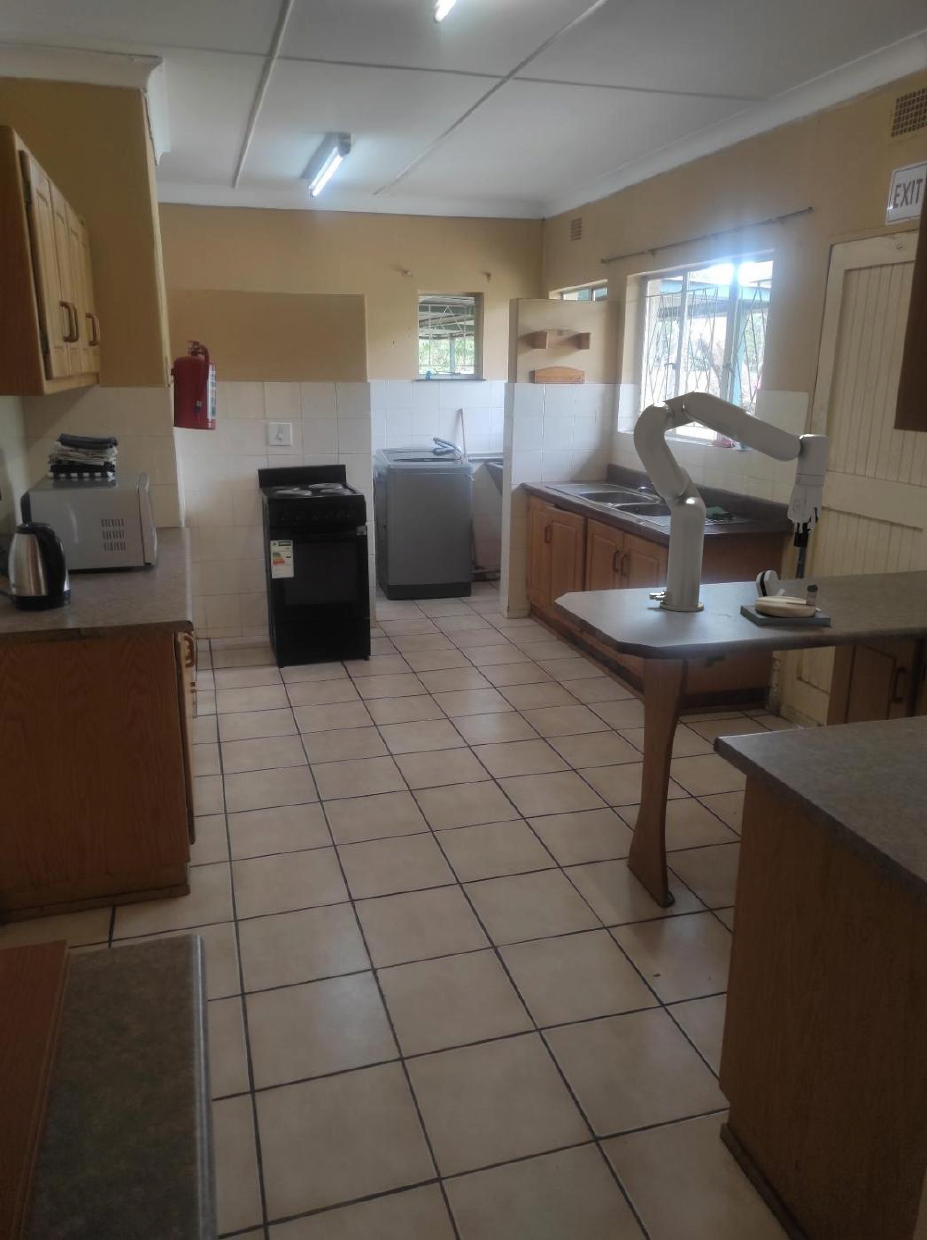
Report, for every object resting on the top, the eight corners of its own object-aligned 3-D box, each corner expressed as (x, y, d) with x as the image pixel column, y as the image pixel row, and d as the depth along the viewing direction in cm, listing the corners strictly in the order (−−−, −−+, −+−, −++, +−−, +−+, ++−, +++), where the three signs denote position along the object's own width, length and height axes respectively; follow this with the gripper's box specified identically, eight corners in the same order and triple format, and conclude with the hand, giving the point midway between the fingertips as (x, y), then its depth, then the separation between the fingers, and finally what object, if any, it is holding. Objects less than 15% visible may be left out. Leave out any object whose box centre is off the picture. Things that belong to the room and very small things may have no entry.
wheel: (755, 600, 254) (757, 574, 252) (813, 605, 249) (817, 578, 247) (754, 614, 239) (757, 585, 237) (817, 619, 234) (820, 590, 232)
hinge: (778, 607, 257) (769, 574, 256) (762, 610, 260) (753, 578, 259) (787, 595, 272) (778, 564, 271) (771, 598, 274) (763, 568, 273)
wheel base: (758, 625, 238) (759, 615, 237) (740, 612, 251) (740, 603, 250) (830, 625, 239) (831, 615, 238) (808, 612, 252) (809, 602, 251)
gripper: (783, 477, 245) (774, 541, 250) (810, 483, 231) (800, 551, 236) (808, 477, 246) (799, 541, 251) (836, 484, 232) (826, 552, 237)
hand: (800, 546), depth 243 cm, fingers closed
